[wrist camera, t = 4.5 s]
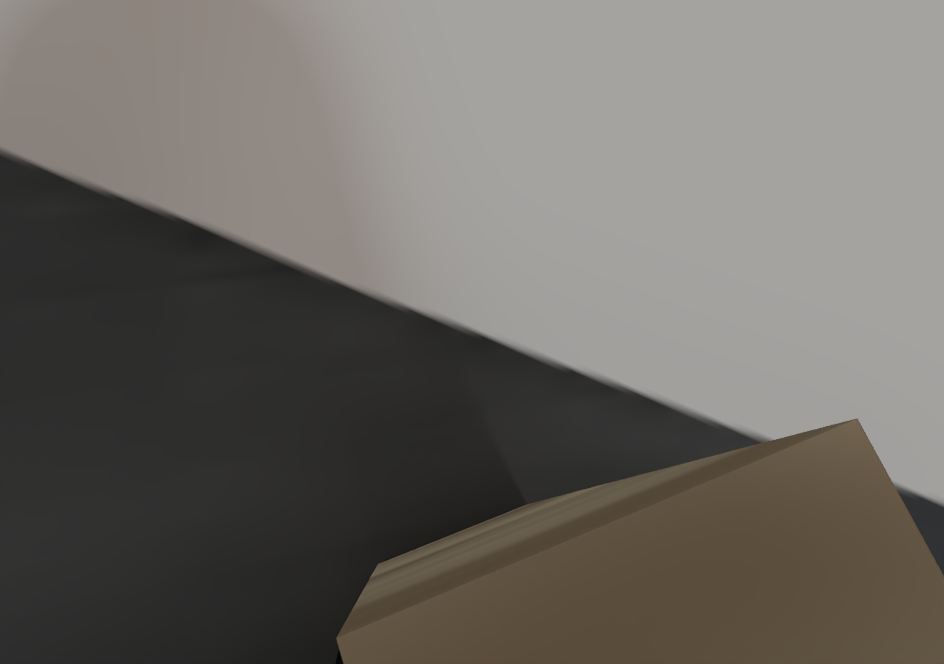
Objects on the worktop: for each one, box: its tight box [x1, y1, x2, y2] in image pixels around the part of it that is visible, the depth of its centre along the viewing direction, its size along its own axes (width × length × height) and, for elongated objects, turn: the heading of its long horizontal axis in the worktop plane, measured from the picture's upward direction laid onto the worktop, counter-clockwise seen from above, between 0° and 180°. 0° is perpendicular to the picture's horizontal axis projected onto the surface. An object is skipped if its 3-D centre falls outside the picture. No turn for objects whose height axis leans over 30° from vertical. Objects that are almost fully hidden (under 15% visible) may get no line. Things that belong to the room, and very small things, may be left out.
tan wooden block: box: [336, 419, 944, 664], centre depth 9 cm, size 4×4×12 cm
